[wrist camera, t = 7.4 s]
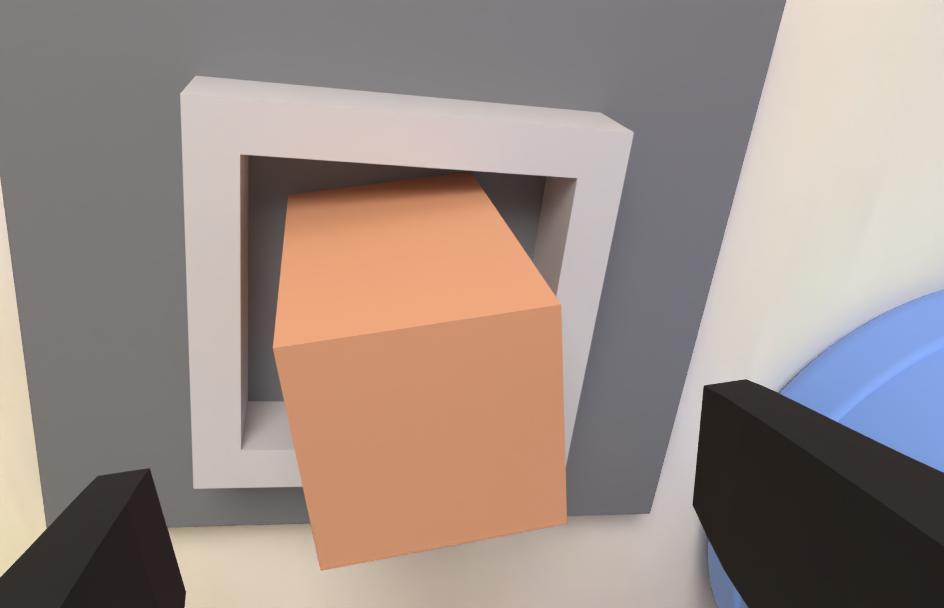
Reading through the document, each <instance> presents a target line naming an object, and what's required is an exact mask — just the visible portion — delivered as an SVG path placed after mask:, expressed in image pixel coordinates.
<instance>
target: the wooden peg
mask: <svg viewBox="0 0 944 608" xmlns="http://www.w3.org/2000/svg"><path fill="white" fill-rule="evenodd" d="M273 351H274V356H275V361H276V365H277V370H278V374H279V379H280V384H281V388H282V393H283V398H284V402H285V407H286V412H287V416H288V421H289V426H290V430H291V435H292V440H293V444H294V449H295V453H296V458H297V463H298V467H299V472H300V477H301V481H302V486H303V491H304V495H305V500H306V505H307V509H308V514H309V518H310V523H311V528H312V532H313V537H314V542H315V546H316V551H317V556H318V560H319V565H320V570H321V571H322V570H327V569H332V568H337V567H343V566H348V565H353V564H358V563H364V562H369V561H374V560H379V559H385V558H390V557H395V556H400V555H406V554H411V553H416V552H421V551H427V550H432V549H437V548H442V547H448V546H453V545H458V544H463V543H469V542H474V541H479V540H484V539H490V538H495V537H500V536H505V535H510V534H516V533H521V532H526V531H531V530H537V529H542V528H547V527H552V526H558V525H563V524H567V504H566V466H565V427H564V389H563V351H562V313H561V303H560V302H559V300H558V299H557V298H556V296H555V295H554V293H553V292H552V290H551V289H550V287H549V286H548V284H547V283H546V281H545V280H544V278H543V277H542V275H541V274H540V273H539V271H538V270H537V268H536V267H535V265H534V264H533V262H532V261H531V259H530V258H529V256H528V255H527V253H526V252H525V251H524V249H523V248H522V246H521V245H520V243H519V242H518V240H517V239H516V237H515V236H514V234H513V233H512V231H511V230H510V228H509V227H508V226H507V224H506V223H505V221H504V220H503V218H502V217H501V215H500V214H499V212H498V211H497V209H496V208H495V206H494V205H493V203H492V202H491V201H490V199H489V198H488V196H487V195H486V193H485V192H484V190H483V189H482V187H481V186H480V184H479V183H478V181H477V180H476V179H475V177H474V176H473V174H472V173H471V172H466V173H458V174H450V175H442V176H434V177H426V178H418V179H410V180H402V181H394V182H386V183H378V184H370V185H362V186H354V187H346V188H338V189H330V190H322V191H315V192H307V193H299V194H291V195H288V202H287V212H286V222H285V232H284V242H283V252H282V262H281V272H280V282H279V292H278V302H277V312H276V322H275V332H274V342H273Z"/></svg>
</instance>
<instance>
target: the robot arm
mask: <svg viewBox="0 0 944 608" xmlns="http://www.w3.org/2000/svg"><path fill="white" fill-rule="evenodd" d="M693 507H694V509H695V511H696V513H697V515H698V518H699V520H700V522H701V524H702V526H703V528H704V530H705V533H706V535H707V537H708V539H709V541H710V543H711V545H712V547H713V549H714V551H715V553H716V555H717V557H718V559H719V561H720V563H721V565H722V567H723V569H724V571H725V572H726V574H727V576H728V577H729V579H730V580H731V582H732V584H733V585H734V587H735V588H736V590H737V591H738V593H739V594H740V596H741V597H742V599H743V601H744V602H745V604H746V605H747V607H748V608H944V472H941V471H939V470H937V469H935V468H933V467H930V466H928V465H926V464H924V463H922V462H919V461H917V460H915V459H913V458H911V457H909V456H906V455H904V454H902V453H900V452H898V451H896V450H894V449H892V448H890V447H887V446H885V445H883V444H881V443H879V442H877V441H875V440H873V439H871V438H869V437H867V436H865V435H863V434H861V433H859V432H857V431H855V430H853V429H851V428H848V427H846V426H844V425H842V424H840V423H838V422H836V421H834V420H832V419H830V418H828V417H826V416H824V415H822V414H820V413H818V412H816V411H814V410H812V409H810V408H808V407H806V406H804V405H802V404H800V403H798V402H796V401H794V400H792V399H790V398H787V397H785V396H783V395H781V394H779V393H777V392H775V391H773V390H770V389H768V388H766V387H764V386H761V385H759V384H756V383H754V382H751V381H749V380H746V379H745V380H738V381H731V382H725V383H718V384H711V385H705V386H704V389H703V400H702V411H701V421H700V432H699V443H698V453H697V464H696V475H695V485H694V496H693ZM185 595H186V591H185V588H184V584H183V581H182V577H181V574H180V570H179V567H178V563H177V560H176V557H175V553H174V550H173V546H172V543H171V539H170V536H169V532H168V529H167V525H166V522H165V519H164V515H163V512H162V508H161V505H160V501H159V498H158V494H157V491H156V487H155V484H154V481H153V477H152V474H151V470H150V468H147V469H140V470H133V471H126V472H120V473H113V474H106V475H100V476H97V477H96V478H95V479H94V480H93V481H92V482H91V483H90V484H89V485H88V486H87V487H86V488H85V489H84V490H83V491H82V492H81V493H80V494H79V495H78V496H77V497H76V498H75V499H74V500H73V501H72V502H71V503H70V505H69V506H68V507H67V508H66V509H65V510H64V511H63V512H62V513H61V514H60V515H59V516H58V517H57V518H56V519H55V521H54V522H53V523H52V524H51V525H50V526H49V527H48V528H47V529H46V530H45V531H44V532H43V533H42V534H41V536H40V537H39V538H38V539H37V540H36V541H35V542H34V543H33V544H32V545H31V546H30V547H29V548H28V549H27V550H26V551H25V552H24V553H23V555H22V556H21V557H20V558H19V559H18V560H17V561H16V562H15V563H14V564H13V565H12V566H11V567H10V568H9V569H8V570H7V571H6V572H5V573H4V574H3V575H2V576H1V577H0V608H184V607H185Z"/></svg>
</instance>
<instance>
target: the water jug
mask: <svg viewBox="0 0 944 608" xmlns="http://www.w3.org/2000/svg"><path fill="white" fill-rule="evenodd" d="M779 394H781V395H783V396H785V397H787V398H790V399H792V400H794V401H796V402H798V403H800V404H802V405H804V406H806V407H808V408H810V409H812V410H814V411H816V412H818V413H820V414H822V415H824V416H826V417H828V418H830V419H832V420H834V421H836V422H838V423H840V424H842V425H844V426H846V427H848V428H851V429H853V430H855V431H857V432H859V433H861V434H863V435H865V436H867V437H869V438H871V439H873V440H875V441H877V442H879V443H881V444H883V445H885V446H887V447H890V448H892V449H894V450H896V451H898V452H900V453H902V454H904V455H906V456H909V457H911V458H913V459H915V460H917V461H919V462H922V463H924V464H926V465H928V466H930V467H933V468H935V469H937V470H939V471H941V472H944V290H941V291H938V292H935V293H932V294H929V295H926V296H923V297H920V298H918V299H915V300H913V301H910V302H908V303H905V304H903V305H901V306H899V307H896V308H894V309H892V310H890V311H888V312H886V313H884V314H882V315H880V316H878V317H877V318H875V319H873V320H871V321H869V322H868V323H866V324H864V325H862V326H861V327H859V328H858V329H856V330H854V331H853V332H851V333H850V334H848V335H847V336H845V337H844V338H842V339H841V340H839V341H838V342H837V343H835V344H834V345H832V346H831V347H830V348H828V349H827V350H826V351H825V352H823V353H822V354H821V355H819V356H818V357H817V358H816V359H815V360H813V361H812V362H811V363H810V364H809V365H808V366H806V367H805V368H804V369H803V370H802V371H801V372H800V373H799V374H798V375H797V376H796V377H795V378H794V379H793V380H792V381H791V382H790V383H789V384H788V385H787V386H786V387H785V388H784V389H783V390H782V391H781V392H780V393H779ZM708 569H709V577H710V583H711V587H712V591H713V595H714V598H715V601H716V604H717V607H718V608H748V607H747V605H746V604H745V602H744V601H743V599H742V597H741V596H740V594H739V593H738V591H737V590H736V588H735V587H734V585H733V584H732V582H731V580H730V579H729V577H728V576H727V574H726V572H725V571H724V569H723V567H722V565H721V563H720V561H719V559H718V557H717V555H716V553H715V551H714V549H713V547H712V545H711V543H710V541H709V539H708Z"/></svg>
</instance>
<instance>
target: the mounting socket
mask: <svg viewBox="0 0 944 608" xmlns="http://www.w3.org/2000/svg"><path fill="white" fill-rule="evenodd" d="M785 3H786V0H0V178H1V186H2V193H3V201H4V208H5V216H6V223H7V231H8V239H9V246H10V254H11V261H12V269H13V277H14V284H15V292H16V299H17V307H18V314H19V322H20V330H21V337H22V345H23V352H24V360H25V367H26V375H27V383H28V390H29V398H30V405H31V413H32V421H33V428H34V436H35V443H36V451H37V458H38V466H39V474H40V481H41V489H42V496H43V504H44V512H45V519H46V527H47V528H48V527H49V526H50V525H51V524H52V523H53V522H54V521H55V519H56V518H57V517H58V516H59V515H60V514H61V513H62V512H63V511H64V510H65V509H66V508H67V507H68V506H69V505H70V503H71V502H72V501H73V500H74V499H75V498H76V497H77V496H78V495H79V494H80V493H81V492H82V491H83V490H84V489H85V488H86V487H87V486H88V485H89V484H90V483H91V482H92V481H93V480H94V479H95V478H96V477H97V476H100V475H106V474H113V473H120V472H126V471H133V470H140V469H147V468H150V470H151V474H152V477H153V481H154V484H155V487H156V491H157V494H158V498H159V501H160V505H161V508H162V512H163V515H164V519H165V522H166V525H167V527H200V526H235V525H270V524H304V523H310V518H309V514H308V509H307V505H306V500H305V495H304V491H303V486H302V481H301V477H300V472H299V467H298V463H297V458H296V453H295V449H294V444H293V440H292V435H291V430H290V426H289V421H288V416H287V412H286V407H285V402H284V398H283V393H282V388H281V384H280V379H279V374H278V370H277V365H276V361H275V356H274V351H273V342H274V332H275V322H276V312H277V302H278V292H279V282H280V272H281V262H282V252H283V242H284V232H285V222H286V212H287V202H288V195H291V194H299V193H307V192H315V191H322V190H330V189H338V188H346V187H354V186H362V185H370V184H378V183H386V182H394V181H402V180H410V179H418V178H426V177H434V176H442V175H450V174H458V173H466V172H471V173H472V174H473V176H474V177H475V179H476V180H477V181H478V183H479V184H480V186H481V187H482V189H483V190H484V192H485V193H486V195H487V196H488V198H489V199H490V201H491V202H492V203H493V205H494V206H495V208H496V209H497V211H498V212H499V214H500V215H501V217H502V218H503V220H504V221H505V223H506V224H507V226H508V227H509V228H510V230H511V231H512V233H513V234H514V236H515V237H516V239H517V240H518V242H519V243H520V245H521V246H522V248H523V249H524V251H525V252H526V253H527V255H528V256H529V258H530V259H531V261H532V262H533V264H534V265H535V267H536V268H537V270H538V271H539V273H540V274H541V275H542V277H543V278H544V280H545V281H546V283H547V284H548V286H549V287H550V289H551V290H552V292H553V293H554V295H555V296H556V298H557V299H558V300H559V302H560V303H561V313H562V351H563V389H564V427H565V466H566V504H567V516H580V515H615V514H649V513H650V511H651V507H652V503H653V499H654V496H655V492H656V488H657V484H658V481H659V477H660V473H661V469H662V466H663V462H664V458H665V454H666V451H667V447H668V443H669V439H670V436H671V432H672V428H673V424H674V420H675V417H676V413H677V409H678V405H679V402H680V398H681V394H682V390H683V387H684V383H685V379H686V375H687V372H688V368H689V364H690V360H691V357H692V353H693V349H694V345H695V341H696V338H697V334H698V330H699V326H700V323H701V319H702V315H703V311H704V308H705V304H706V300H707V296H708V293H709V289H710V285H711V281H712V278H713V274H714V270H715V266H716V262H717V259H718V255H719V251H720V247H721V244H722V240H723V236H724V232H725V229H726V225H727V221H728V217H729V214H730V210H731V206H732V202H733V199H734V195H735V191H736V187H737V183H738V180H739V176H740V172H741V168H742V165H743V161H744V157H745V153H746V150H747V146H748V142H749V138H750V135H751V131H752V127H753V123H754V120H755V116H756V112H757V108H758V104H759V101H760V97H761V93H762V89H763V86H764V82H765V78H766V74H767V71H768V67H769V63H770V59H771V56H772V52H773V48H774V44H775V41H776V37H777V33H778V29H779V25H780V22H781V18H782V14H783V10H784V7H785Z"/></svg>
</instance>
